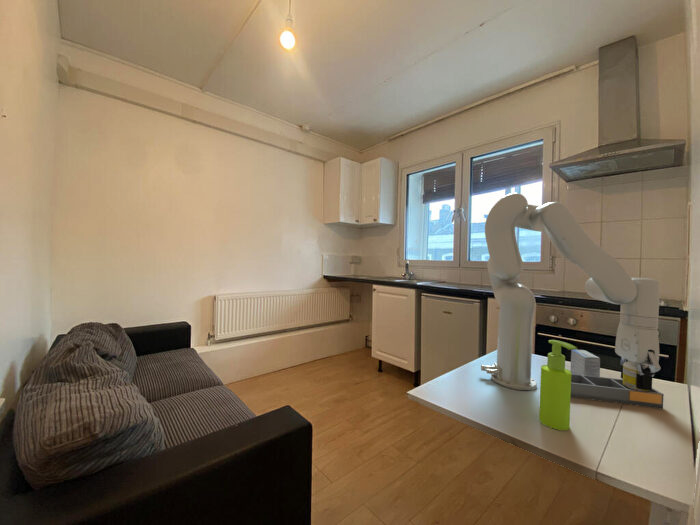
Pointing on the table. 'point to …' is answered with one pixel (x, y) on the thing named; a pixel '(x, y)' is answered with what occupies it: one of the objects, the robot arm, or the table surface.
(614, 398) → the rack
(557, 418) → the soap dispenser
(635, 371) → the supplement bottle
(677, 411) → the table surface
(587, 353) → the medicine box
